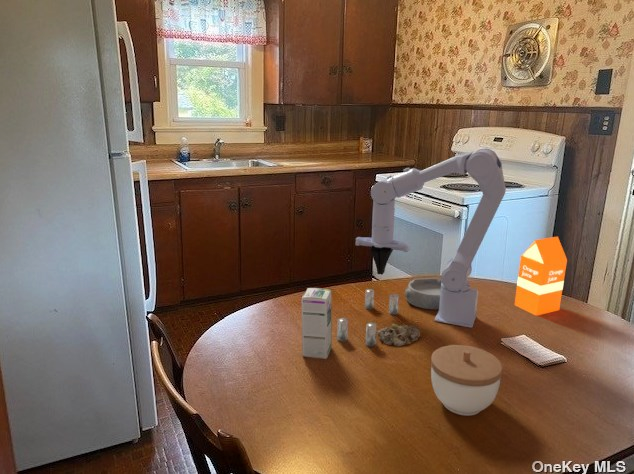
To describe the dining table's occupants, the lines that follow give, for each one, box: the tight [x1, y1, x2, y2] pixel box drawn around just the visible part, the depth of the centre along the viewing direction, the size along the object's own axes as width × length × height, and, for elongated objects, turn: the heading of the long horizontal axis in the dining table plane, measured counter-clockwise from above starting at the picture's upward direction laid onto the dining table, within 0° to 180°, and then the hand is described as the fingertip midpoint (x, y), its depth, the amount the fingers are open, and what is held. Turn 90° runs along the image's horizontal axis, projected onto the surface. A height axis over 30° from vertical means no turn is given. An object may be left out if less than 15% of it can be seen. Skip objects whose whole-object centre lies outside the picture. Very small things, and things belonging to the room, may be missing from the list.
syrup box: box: [300, 287, 333, 360], centre depth 108 cm, size 6×6×14 cm
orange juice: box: [514, 236, 568, 316], centre depth 131 cm, size 8×9×20 cm
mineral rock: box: [376, 323, 421, 347], centre depth 116 cm, size 11×4×8 cm
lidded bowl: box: [430, 344, 503, 417], centre depth 90 cm, size 13×13×11 cm
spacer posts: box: [336, 288, 400, 348], centre depth 123 cm, size 9×22×5 cm, turn 155°
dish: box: [404, 277, 442, 310], centre depth 138 cm, size 14×14×5 cm
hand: (380, 273), depth 133 cm, fingers closed
